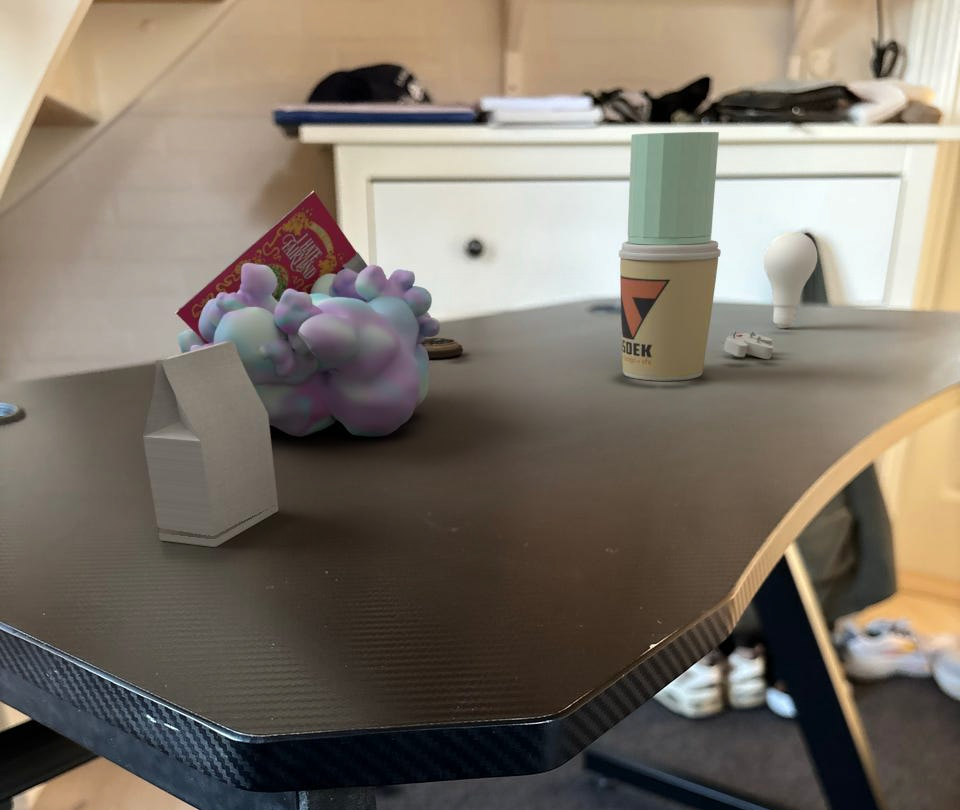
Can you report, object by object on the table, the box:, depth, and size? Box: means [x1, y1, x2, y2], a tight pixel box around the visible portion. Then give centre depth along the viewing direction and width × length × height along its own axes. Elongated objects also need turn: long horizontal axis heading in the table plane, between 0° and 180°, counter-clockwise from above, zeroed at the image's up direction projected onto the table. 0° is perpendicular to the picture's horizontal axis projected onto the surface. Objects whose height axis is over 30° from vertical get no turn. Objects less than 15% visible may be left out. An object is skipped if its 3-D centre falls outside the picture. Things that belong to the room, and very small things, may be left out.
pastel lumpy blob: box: [175, 190, 441, 438], centre depth 79 cm, size 20×22×18 cm
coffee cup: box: [618, 239, 722, 382], centre depth 96 cm, size 9×9×12 cm
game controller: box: [719, 330, 774, 360], centre depth 107 cm, size 6×12×3 cm, turn 61°
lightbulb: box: [763, 231, 818, 329], centre depth 121 cm, size 6×6×11 cm
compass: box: [420, 337, 464, 359], centre depth 110 cm, size 8×8×7 cm
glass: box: [627, 131, 720, 245], centre depth 91 cm, size 8×8×9 cm
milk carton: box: [142, 341, 279, 548], centre depth 57 cm, size 4×7×10 cm, turn 160°
